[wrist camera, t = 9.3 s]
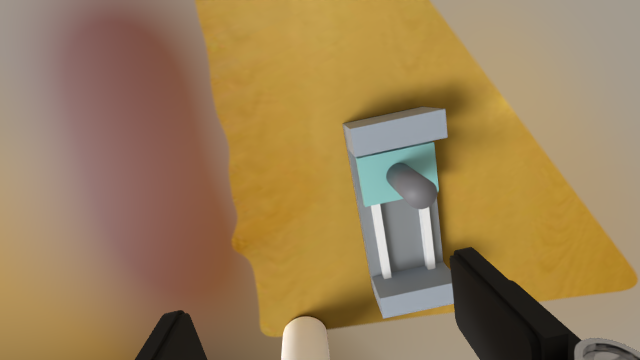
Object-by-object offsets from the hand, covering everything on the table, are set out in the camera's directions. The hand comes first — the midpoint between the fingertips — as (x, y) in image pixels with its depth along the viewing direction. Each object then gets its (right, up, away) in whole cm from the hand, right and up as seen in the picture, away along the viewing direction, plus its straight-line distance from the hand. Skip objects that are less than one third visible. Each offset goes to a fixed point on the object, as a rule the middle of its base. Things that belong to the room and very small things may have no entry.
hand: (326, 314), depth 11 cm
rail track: (+10, +1, +30) cm, 31 cm away
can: (-2, -18, +35) cm, 39 cm away
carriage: (+9, +6, +26) cm, 28 cm away
